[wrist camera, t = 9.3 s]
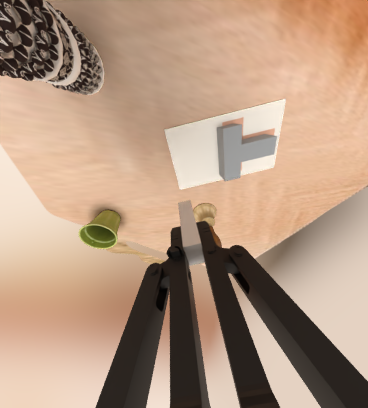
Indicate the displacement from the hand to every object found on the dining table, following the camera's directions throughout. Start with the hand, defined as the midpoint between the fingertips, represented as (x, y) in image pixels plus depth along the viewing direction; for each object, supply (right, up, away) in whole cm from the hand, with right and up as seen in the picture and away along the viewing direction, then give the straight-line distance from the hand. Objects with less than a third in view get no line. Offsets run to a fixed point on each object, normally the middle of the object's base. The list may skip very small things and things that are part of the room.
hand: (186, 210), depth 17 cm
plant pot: (-24, -3, +26) cm, 36 cm away
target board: (+10, +15, +18) cm, 25 cm away
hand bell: (+7, -2, +29) cm, 30 cm away
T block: (+14, +15, +18) cm, 28 cm away
